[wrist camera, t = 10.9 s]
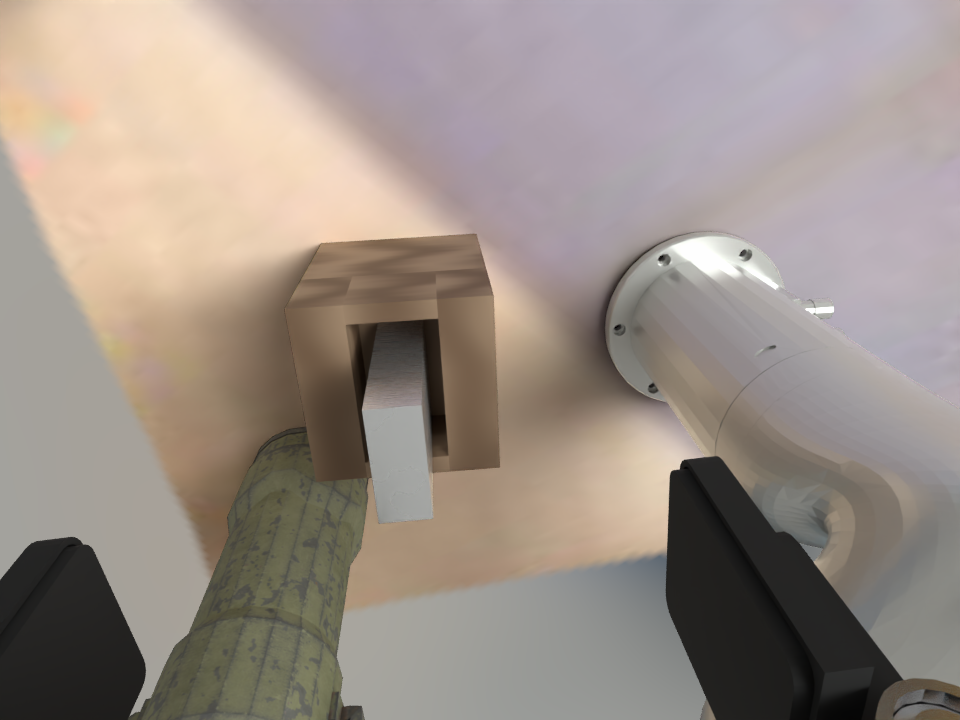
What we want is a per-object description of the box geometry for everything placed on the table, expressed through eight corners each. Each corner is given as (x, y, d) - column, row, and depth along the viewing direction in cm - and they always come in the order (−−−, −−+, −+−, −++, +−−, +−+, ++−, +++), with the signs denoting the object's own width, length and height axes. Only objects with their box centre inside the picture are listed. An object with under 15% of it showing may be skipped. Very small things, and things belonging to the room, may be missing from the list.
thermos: (215, 437, 47) (-219, 1221, 15) (377, 415, 47) (277, 1144, 16) (247, 532, 51) (-48, 1317, 19) (397, 511, 51) (349, 1253, 19)
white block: (422, 318, 36) (421, 405, 27) (431, 411, 39) (433, 518, 30) (378, 321, 36) (362, 410, 27) (390, 414, 39) (378, 523, 30)
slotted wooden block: (476, 233, 42) (493, 295, 31) (482, 371, 46) (499, 467, 35) (321, 243, 41) (284, 309, 31) (342, 381, 46) (316, 481, 35)
